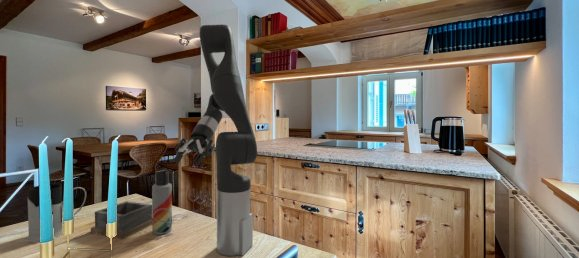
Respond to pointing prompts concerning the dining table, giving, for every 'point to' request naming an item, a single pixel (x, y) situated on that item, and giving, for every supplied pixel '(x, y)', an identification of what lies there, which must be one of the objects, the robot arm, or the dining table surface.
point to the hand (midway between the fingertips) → (185, 163)
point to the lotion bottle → (162, 203)
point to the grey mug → (56, 209)
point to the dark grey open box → (125, 219)
